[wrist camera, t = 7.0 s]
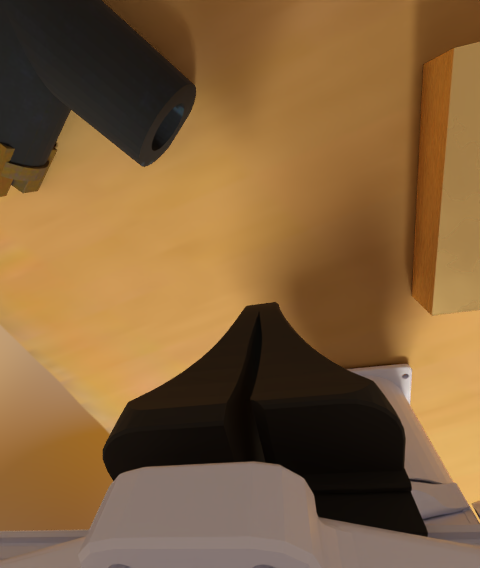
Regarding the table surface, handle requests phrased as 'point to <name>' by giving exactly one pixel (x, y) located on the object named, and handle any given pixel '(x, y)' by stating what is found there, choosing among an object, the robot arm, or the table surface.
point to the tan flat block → (449, 185)
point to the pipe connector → (80, 86)
